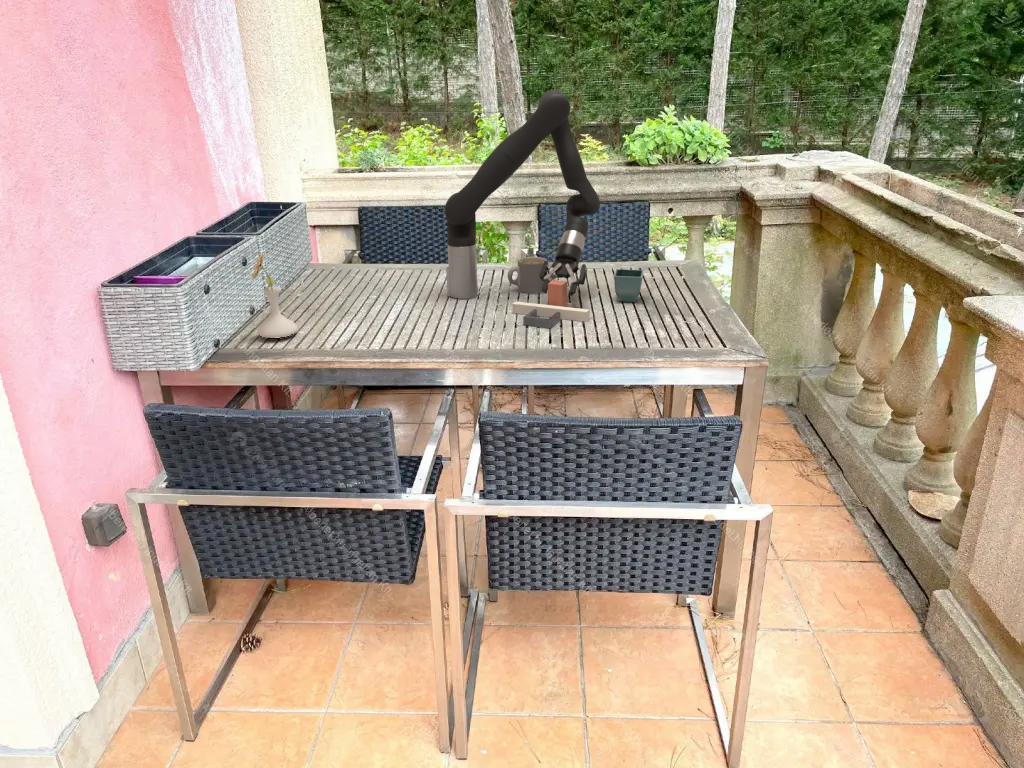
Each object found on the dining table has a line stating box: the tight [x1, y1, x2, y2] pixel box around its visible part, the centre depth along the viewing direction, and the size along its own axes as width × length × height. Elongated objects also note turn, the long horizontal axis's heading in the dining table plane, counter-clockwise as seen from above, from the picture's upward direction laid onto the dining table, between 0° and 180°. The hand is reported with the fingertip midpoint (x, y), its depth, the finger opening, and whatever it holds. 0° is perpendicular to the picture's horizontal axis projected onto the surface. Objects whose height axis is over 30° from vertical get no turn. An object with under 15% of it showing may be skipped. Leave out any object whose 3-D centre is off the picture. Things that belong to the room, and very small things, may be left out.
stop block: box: [547, 279, 568, 307], centre depth 237 cm, size 4×4×9 cm
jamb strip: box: [511, 301, 590, 323], centre depth 237 cm, size 24×11×3 cm, turn 66°
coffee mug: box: [507, 256, 548, 295], centre depth 260 cm, size 13×10×10 cm
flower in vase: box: [250, 252, 299, 338], centre depth 217 cm, size 13×11×25 cm
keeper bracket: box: [522, 309, 561, 329], centre depth 228 cm, size 8×8×2 cm
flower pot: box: [613, 268, 644, 303], centre depth 246 cm, size 9×9×9 cm
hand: (557, 293), depth 237 cm, fingers open, 8 cm apart
